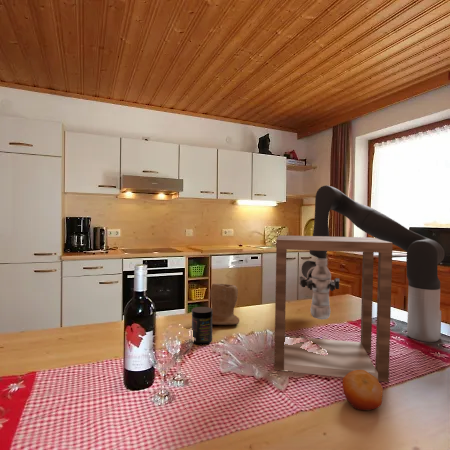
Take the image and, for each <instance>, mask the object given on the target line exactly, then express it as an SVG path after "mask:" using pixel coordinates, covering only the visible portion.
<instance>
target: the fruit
mask: <svg viewBox="0 0 450 450" xmlns="http://www.w3.org/2000/svg"><path fill="white" fill-rule="evenodd" d="M383 389H384V388H383V386H382V385H381V383H380V381H378V379H377V378H376V377H375V376H373V375H371V374H369V373H368V372H367V371H365V370H354V371H351V372H349V373H348V374H346V376H345V377H342V392H343V394H344V397H345V398H346V400H347V402H349V404H350V405H351V406H352V407H353V408H354V409H355V410H360V411H367V410H368V411H370V410H374V409H375V410H376V409H378V408H379V407H381V405H382V402H383Z"/></svg>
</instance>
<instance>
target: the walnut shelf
mask: <svg viewBox="0 0 450 450" xmlns="http://www.w3.org/2000/svg"><path fill="white" fill-rule="evenodd" d="M275 247H276V248H275V249H276V250H275V253H276V254H275V255H276V256H275V259H276V262H275V302H274V303H275V309H274V312H275V313H274V314H275V315H274V316H275V317H274V356H273V357H274V359H273V361H274V365H273V367H274V369H273V370H274V371H278V370H288V371H293V372H292V373H298V374H309V375H317V376H318V375H319V376H327V377H336V378H337V377H338V378H344V377H345V376H346V374H348V373H349V372H351V371H354V370H365V371H367V372H368V373H369V374H371V375H373V376H375V377H376V378H377V379H378V381H379V382H385V383H389V382H390V349H391V346H390V345H391V319H392V317H391V315H392V314H391V312H392V311H391V310H392V309H391V307H392V281H393V280H392V279H393V277H392V276H393V275H392V272H393V271H392V270H393V243H392V242H388V241H384V240H380V239H377V238H375V237H365V236H363V237H361V236H360V237H358V236H357V237H356V236H329V237H327V236H313V235H285V234H284V235H283V234H282V235H279V234H278V236H277V238H276V246H275ZM287 250H288V251H289V250H291V251H310V250H315V251H327V252H350V253H354V252H355V253H362V265H361V266H362V271H361V272H362V273H361V276H362V278H361V305H360V306H361V309H360V311H361V313H360V314H361V315H360V341H353V340H352V341H351V340H350V341H349V340H337V339H326V338H325V339H324V338H314V337H313V338H312V337H306V338H307V339H309V340H310V341H312V342H313V343H316V344H318V345H319V346H321V348H323V349H326V350H327V353H328V355H325V356H324V355H320V354H316V353H313V352H308V351H307V350H305V349H302V348H300V347H301V346H302V344H304V342H300V343H296V344H293V345H288V344H285V345H284V342H285V336H286V308H287V307H286V299H287V295H286V294H287V291H286V290H287V253H288V252H287ZM374 253H378V255H377V256H378V259H377V260H378V261H377V262H378V263H377V291H376V292H377V295H376V296H377V297H376V330H375V331H376V339H375V340H376V341H375V365H374V363H373V362H372V360H371V358H370V356H369V355H368V354H369V353H370V354H371V353H372V333H373V331H372V329H373V293H374V292H373V290H374V289H373V288H374V285H373V284H374V259H375V258H374V256H375V255H374ZM287 336H288V337H290V338H296V337H297V336H290V335H287ZM288 371H287V372H288Z"/></svg>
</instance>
